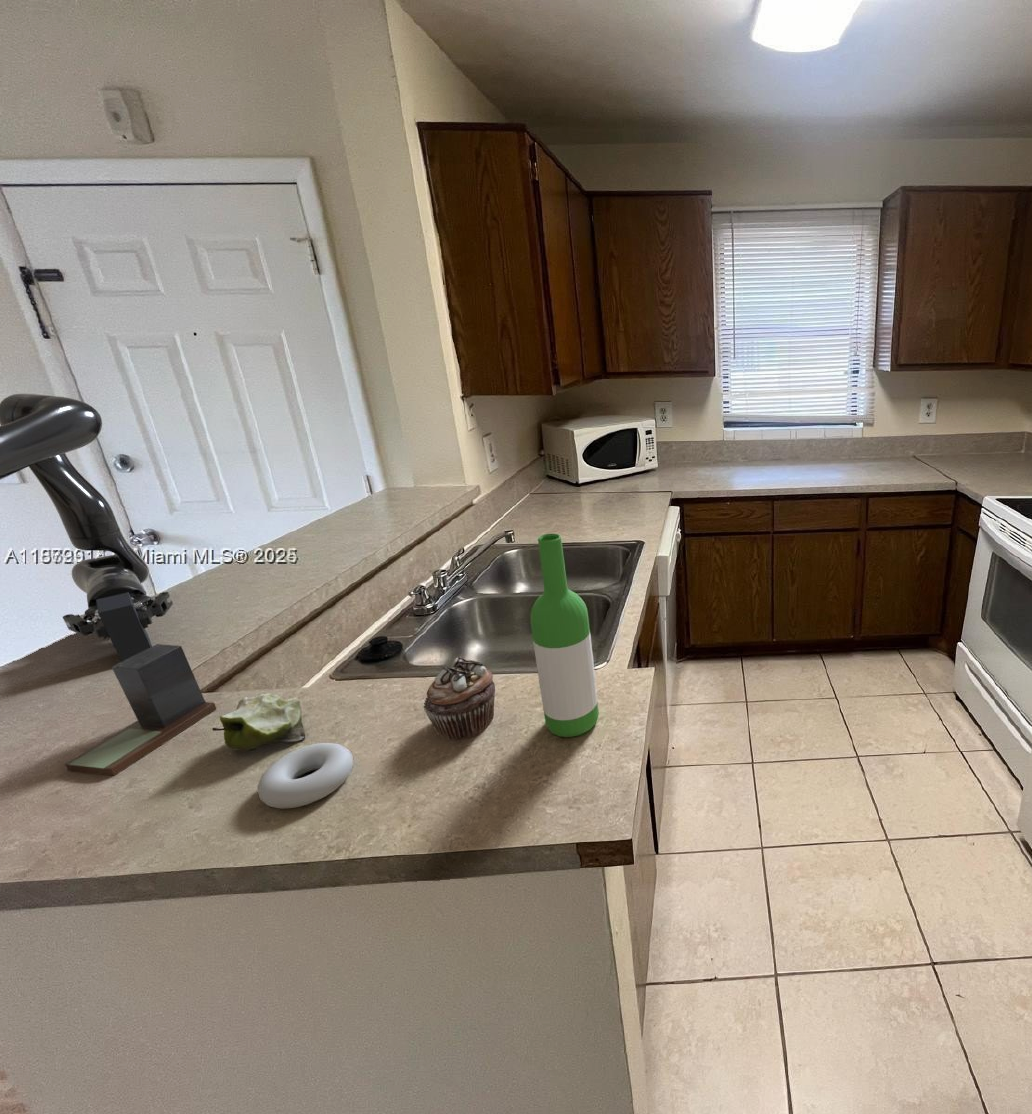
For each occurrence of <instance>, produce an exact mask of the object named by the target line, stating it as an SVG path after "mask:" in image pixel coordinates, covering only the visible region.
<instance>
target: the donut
mask: <svg viewBox="0 0 1032 1114" xmlns="http://www.w3.org/2000/svg"><path fill="white" fill-rule="evenodd" d="M353 765H354V758H353V755H352V752H351V751H350V749H348V748H347V747H345V746H344V745H342V744H339V743H334V742H317V743H313V744H309V745H305V746H302V747H300V748H297V749H294V750H292V751H290V752H288V753H286V754H285V755H283V756H281V757H279V758H278V759H277V760H276V761H275V762H273V763H271V764H270V766H269V767H268V768H267V769H266V770H265V771H264V772H263V773H262V774H261V776H260V779H259V782H258V784H257V793H258V798H259V799H260V801H261V802H263V803H264V804H266V806H269V807H271V808H276V809H280V810H282V809H283V810H284V809H296V808H300V807H303V806H307V805H310V804H313V803H314V802H317V801H319V800H322V799H324V798H326V797H327V796H329V795H330V794H331V793H333V792H335V791H336V790H337V789H338V788H339V787H340V786H341V785H343V784H344V782H346V780H347V779H348V777H349V776H350V774H351V773H352V770H353ZM311 771H314V772H312V773H311V774H308V775H305V776H303V777H301V776H302V775H304V774H306V773H309V772H311ZM299 777H300V778H299Z"/></svg>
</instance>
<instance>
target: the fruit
mask: <svg viewBox="0 0 1032 1114" xmlns="http://www.w3.org/2000/svg"><path fill="white" fill-rule="evenodd" d="M219 721H220V722H221V724H222V728H218V727H212V728H211V729H212V730H211V731H214V732H216V731H218V732H219V731H220V732H221V731H223V739H224V740H223V741H224V744H225V746H226V747H227V748H228V749H231V750H234V751H235V750H236V751H243V752H244V751H245V752H246V751H256V750H257V747H258V746H261V745H265V744H270V743H271V744H272V743H276V742H300V741H303V740H305V739H306V733H305V729H304V725H303V720H302V707H301V703H300V700H299V699H298V698H296V697H293V698H292V697H291V698H288V699H283V698H281V697H280V696H279V694H274V693H271V692H268V693H260V694H258V695H257V696H252V697H243V698H241V699H239V700H238V704H237V706H236V709H235V710H234V711H231V712H228V713H226V714H223V715H221V716H219Z"/></svg>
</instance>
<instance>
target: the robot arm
mask: <svg viewBox="0 0 1032 1114" xmlns="http://www.w3.org/2000/svg"><path fill="white" fill-rule="evenodd" d="M102 428H103V420H102V416H101V414H100V413H99V412H98V411H97V409H96V408H94V407H93V406H92V405H90V404H88V403H86V402H85V401H82V400H80V399H79V400H78V399H76V398H75V399H74V398H71V397H66V396H60V395H59V396H58V395H57V396H56V395H47V394H46V395H45V394H35V393H14V394H11V395H7V396H6V397H4V398H3V399H2V400H1V401H0V481H1V480H3V479H6V478H8V477H10V476H12V475H14V474H16V473H19V472H20V471H22V470H25V469H26V468H29V470H31V472H32V474H33V475H34V476H35V478H36V479H37V480H38V482H39V484H40V485H41V486H42V488H43V489H44V490H45V492H46V494H47V496H48V497H49V499H50V500H51V503H52V504H53V505H54V508H55V509H56V512H57V514H58V516H59V517H60V519H61V520H60V521H61V523H62V525H63V527H64V529H65V532H66V534H67V536H68V539H69V540H70V543H71V545H72V546H73V547H74V548H75V549H77V550H79V551H88V552H89V551H90V552H92V551H96V552H97V551H102V552H104V551H105V552H109V553H110V552H111V553H113V554H110V555H109V554H108V555H104V556H99V557H93V558H87V559H83V560H81V561H78V562H77V563H75V564H74V565H73V567H72V569H71V577H72V580H73V582H74V584H75V585H76V586H77V588H79V590H81V591H82V592H83V593H85V594H86V602H87V609H85V610H84V613H83V614H73V613H69V614H65V615H63V616H62V619H63V621H64V623H65V625H66V627H67V630H69V631H72V632H74V633H76V634H78V635H81V636H84V637H85V636H89V635H92V634H93V632H94V633H95V635H96V637H98V638H102V637H103V638H104V639H108V638H109V639H110V637H109V635H108V633H107V631H106V628H105V626H104V624H103V622H102V620H101V618H100V616H99V614H98V609H97V603H96V600H97V599H101V598H106V597H110V596H114V595H119V594H123V593H128V592H129V594H130V597H131V599H132V601H133V603H134V606H135V608H136V612H137V615H138V618H139V621H140V623H141V625H142V627H143V629H144V628H145V629H147V628H149V625H152V624H153V617H156V618H160V617H163V616H165V615H166V614H167V613H168V611H169V610H170V609H171V607H172V606H173V605H174V603H173V600H172V598H171V595H170V593H169V592H168V591H163V592H160V593H159V594H158V595H155V596H154V597H151V596H150V595H147V591H146V590H145V587H144V585H143V583H145V582H146V581H147V580H148V578H149V576H150V569H149V566H148V564H147V562H145V560H144V559H143V558H142V557H141V556H140V555H139V554H138V553H137V552H136V551H135V549H134V548H133V547H132V546H131V544H130V543H129V542H128V541H127V540H126V538H125V536H124V535H123V532H122V531H121V527H120V525H119V524H118V521H117V518H116V516H115V513H114V511H113V509H112V507H111V504H110V503H109V502H108V500H107V499H106V498H105V497H104V495H103V494H102V493H101V492H100V491H99V490H98V489H97V488H95V487H94V486H93V485H92V483H90V482H89V481H88V480H87V479H86V477H84V476H83V475H82V473H80V472H79V471H78V470H77V468H76V467H75V466H74V465H73V463H72V462H71V461H70V458H69V457H68V456H67V453H70V452H72V451H75V450H78V449H81V448H84V447H86V446H88V445H90V444H91V443H93V442H94V441H95V440H96V439H97V438H98V436H99V435H100V433H101V431H102Z"/></svg>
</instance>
